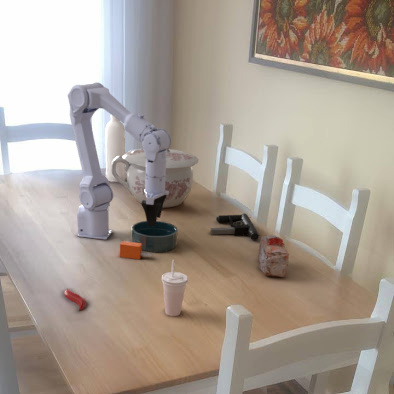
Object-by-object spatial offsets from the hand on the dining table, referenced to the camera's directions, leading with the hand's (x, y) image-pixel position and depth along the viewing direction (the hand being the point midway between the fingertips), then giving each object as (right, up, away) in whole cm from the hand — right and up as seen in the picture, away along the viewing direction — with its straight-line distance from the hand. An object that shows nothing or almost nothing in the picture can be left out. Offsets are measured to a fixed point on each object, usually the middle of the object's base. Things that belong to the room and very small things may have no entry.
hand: (154, 221), depth 170 cm
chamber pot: (-2, +17, +46) cm, 49 cm away
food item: (+34, -15, 0) cm, 37 cm away
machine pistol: (+25, +2, +25) cm, 36 cm away
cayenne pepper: (-18, -26, -25) cm, 40 cm away
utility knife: (-5, -11, +1) cm, 12 cm away
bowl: (-1, -5, +10) cm, 11 cm away
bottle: (-21, +32, +67) cm, 77 cm away
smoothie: (+7, -29, -27) cm, 40 cm away
